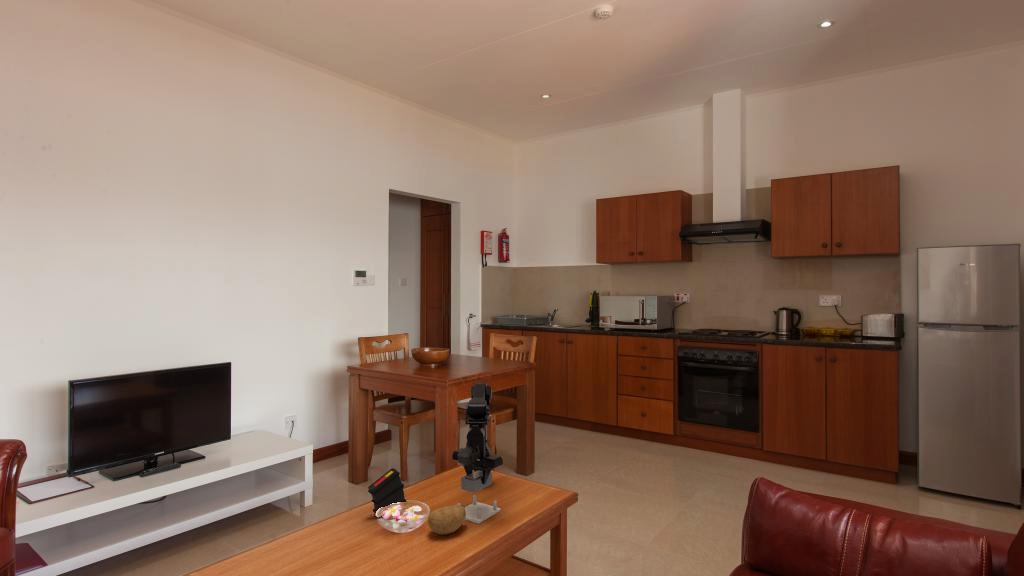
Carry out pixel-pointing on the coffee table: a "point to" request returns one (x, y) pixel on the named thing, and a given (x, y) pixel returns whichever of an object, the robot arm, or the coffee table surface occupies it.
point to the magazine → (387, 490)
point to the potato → (446, 519)
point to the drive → (475, 481)
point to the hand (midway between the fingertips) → (476, 482)
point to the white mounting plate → (480, 511)
